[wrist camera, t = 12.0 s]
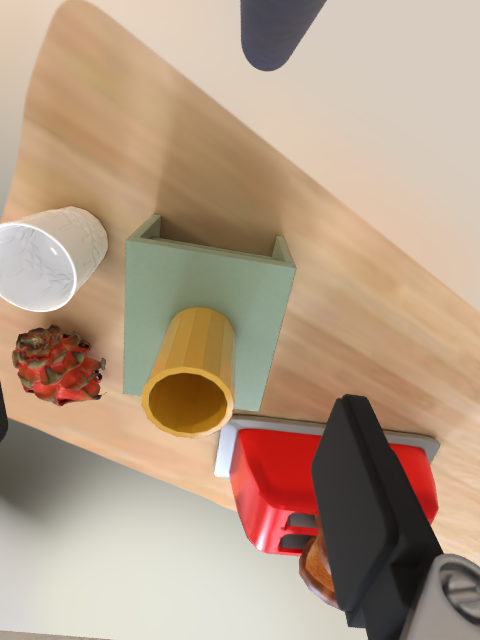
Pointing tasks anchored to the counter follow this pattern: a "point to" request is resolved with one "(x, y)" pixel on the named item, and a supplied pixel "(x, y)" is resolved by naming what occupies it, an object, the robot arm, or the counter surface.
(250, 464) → the toaster
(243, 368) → the shelf
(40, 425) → the counter surface
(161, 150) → the counter surface
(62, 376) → the dragon fruit
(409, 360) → the counter surface
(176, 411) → the cup
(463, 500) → the counter surface
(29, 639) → the robot arm
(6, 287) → the white cup
